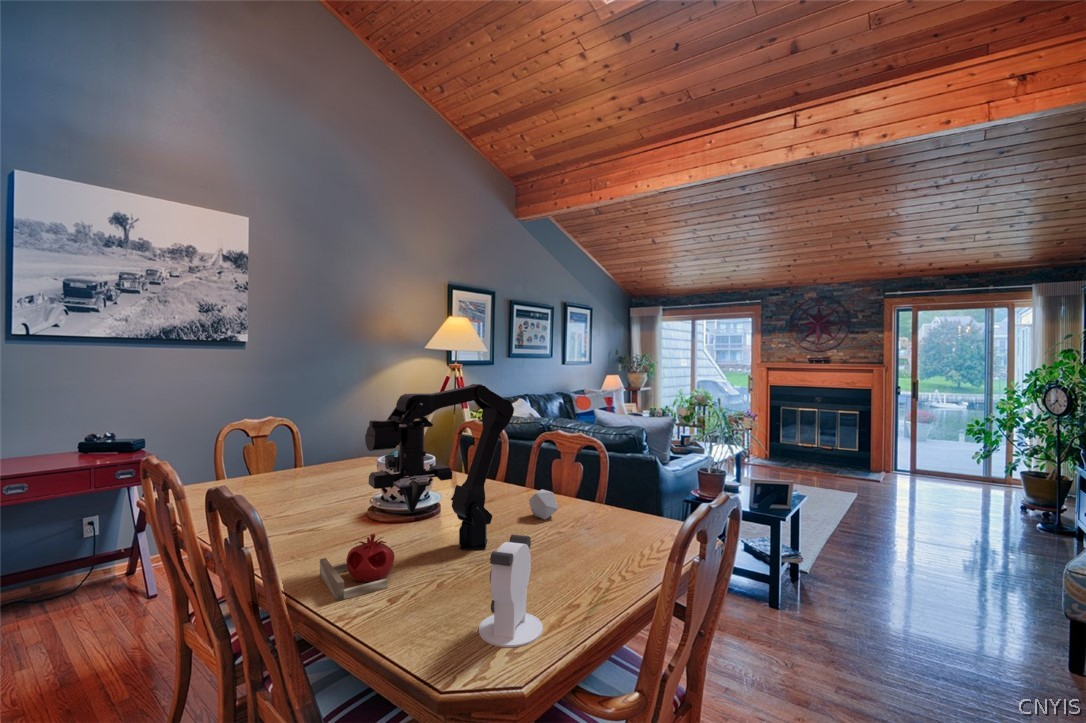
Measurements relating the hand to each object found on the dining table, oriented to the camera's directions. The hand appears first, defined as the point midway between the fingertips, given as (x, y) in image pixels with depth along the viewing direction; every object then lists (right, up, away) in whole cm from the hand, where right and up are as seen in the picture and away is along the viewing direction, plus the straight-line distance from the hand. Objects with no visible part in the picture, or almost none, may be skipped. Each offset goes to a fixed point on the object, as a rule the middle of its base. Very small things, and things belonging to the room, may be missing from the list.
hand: (411, 512), depth 117 cm
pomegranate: (-7, -12, -8) cm, 16 cm away
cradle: (-10, -12, -11) cm, 19 cm away
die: (+32, -13, +36) cm, 49 cm away
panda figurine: (+26, -12, -29) cm, 41 cm away
